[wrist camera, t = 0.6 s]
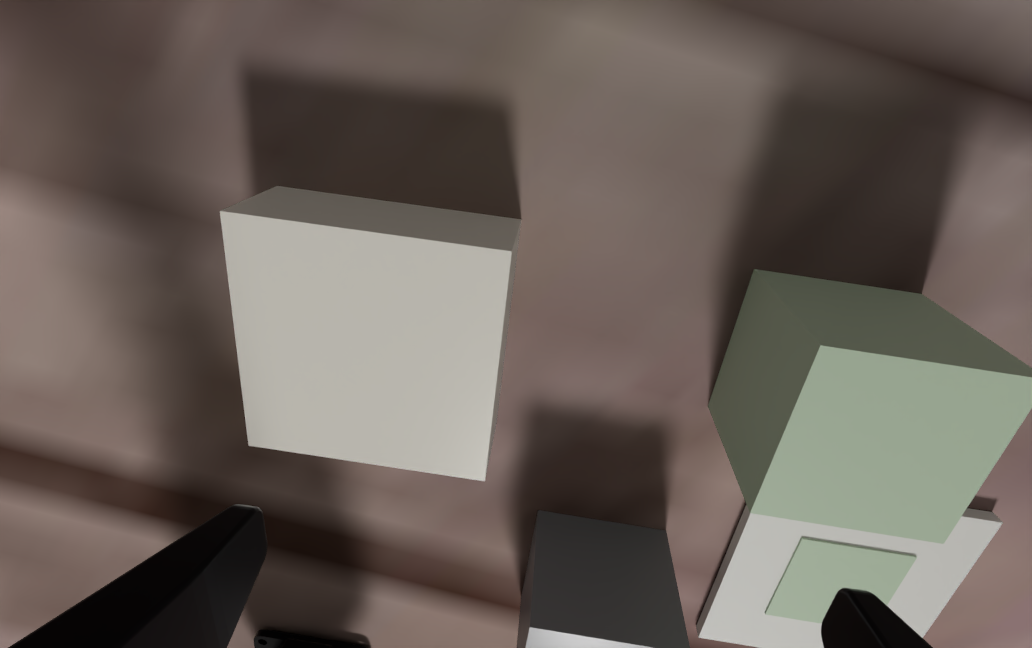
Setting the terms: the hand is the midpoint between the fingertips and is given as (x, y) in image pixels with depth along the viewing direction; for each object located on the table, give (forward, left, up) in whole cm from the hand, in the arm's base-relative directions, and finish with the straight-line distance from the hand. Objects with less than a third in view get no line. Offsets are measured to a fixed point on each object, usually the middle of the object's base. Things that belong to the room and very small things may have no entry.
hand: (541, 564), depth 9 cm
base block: (-3, +6, -14) cm, 15 cm away
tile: (-13, -15, -13) cm, 24 cm away
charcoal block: (-15, -4, -14) cm, 20 cm away
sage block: (-2, -10, -14) cm, 17 cm away
